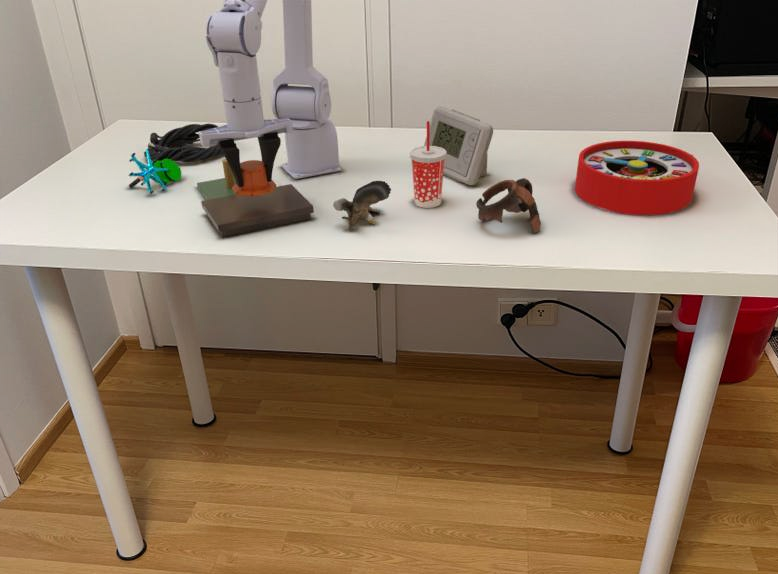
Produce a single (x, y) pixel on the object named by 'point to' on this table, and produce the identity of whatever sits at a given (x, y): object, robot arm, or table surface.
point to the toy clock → (636, 177)
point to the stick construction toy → (155, 172)
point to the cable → (180, 139)
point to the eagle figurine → (363, 202)
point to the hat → (254, 179)
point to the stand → (257, 210)
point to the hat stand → (219, 184)
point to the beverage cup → (427, 173)
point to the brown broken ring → (509, 202)
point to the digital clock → (461, 144)
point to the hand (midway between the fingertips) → (253, 182)
